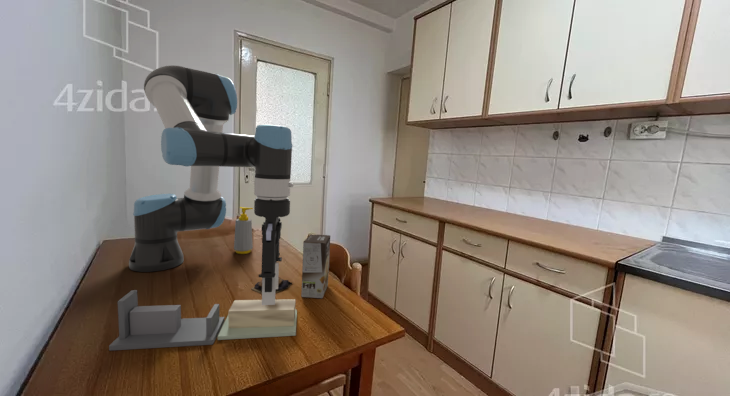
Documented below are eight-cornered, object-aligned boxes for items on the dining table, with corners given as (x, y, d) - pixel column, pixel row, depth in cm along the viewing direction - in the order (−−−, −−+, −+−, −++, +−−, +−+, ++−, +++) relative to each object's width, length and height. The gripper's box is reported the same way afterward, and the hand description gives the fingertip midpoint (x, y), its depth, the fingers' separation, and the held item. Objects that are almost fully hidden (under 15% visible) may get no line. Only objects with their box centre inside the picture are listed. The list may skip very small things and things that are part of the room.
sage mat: (229, 315, 73) (229, 312, 73) (296, 312, 76) (296, 309, 76) (217, 339, 63) (217, 336, 63) (295, 335, 66) (295, 332, 66)
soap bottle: (248, 255, 116) (249, 209, 113) (230, 253, 116) (230, 208, 113) (255, 249, 123) (256, 206, 120) (238, 248, 123) (238, 205, 120)
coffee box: (323, 299, 84) (325, 243, 82) (300, 297, 84) (302, 241, 82) (328, 285, 93) (330, 235, 91) (307, 283, 93) (309, 233, 91)
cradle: (135, 324, 67) (133, 286, 65) (224, 320, 70) (224, 284, 69) (109, 350, 58) (106, 306, 57) (213, 344, 61) (212, 303, 60)
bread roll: (267, 299, 83) (268, 286, 83) (248, 290, 88) (248, 278, 87) (295, 286, 92) (296, 275, 92) (277, 279, 97) (277, 268, 96)
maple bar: (234, 316, 71) (234, 300, 70) (295, 314, 73) (295, 299, 73) (228, 328, 66) (228, 311, 66) (293, 326, 68) (294, 309, 68)
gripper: (287, 205, 57) (284, 318, 60) (292, 192, 76) (289, 278, 79) (245, 204, 56) (244, 319, 59) (261, 191, 75) (259, 278, 78)
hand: (270, 295), depth 69 cm, fingers open, 7 cm apart
